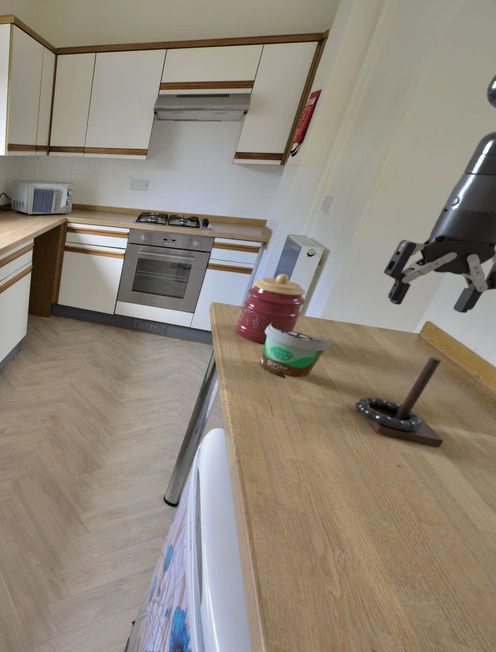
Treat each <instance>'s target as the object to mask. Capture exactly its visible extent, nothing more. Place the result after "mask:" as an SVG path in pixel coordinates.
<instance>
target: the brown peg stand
mask: <svg viewBox="0 0 496 652" xmlns="http://www.w3.org/2000/svg"><path fill="white" fill-rule="evenodd" d="M441 362H442V359H441V358H439V357H435V356H430V357H429V359H428V361H427V362H426V364H425V365H424V367H423V369H422V371H421V372H420V374H419V376H418V377H417V378H416V381H414V382H415V383H414V384H413V385H412V387H411V389H410V391H409V392H408V394H407V396H406V397H405V399H404V401H403V402H402V404H401V405H402V406H401V408H400V409H399V411H398V413H394V412H391V411H389V410H386V409H383V408H378V407H370V408H372V409H373V410H375V411H377V412H378V413H381V414H383V415H386V416H388V417H391V418H395V419H399V420H406V418H407V416H408V415H409V413H410V412H411V410H412V411H413V408H414V407H415V405H416V403H417V402H418V400H419V399H420V397H421V395H422V394H423V391H424V390H425V388H426V387H427V385H428V384H429V382H430V380H431V378H432V377H433V376H434V374H435V372H436V370H437V369H438V367H439V366H440V364H441ZM415 413H416V414H417V415H418V416H419V417H420V418H421V419H422V421H423V424H422V426H421V427H420V429H418V430H411V431H403V430H398V429H394V428H389V427H386V426H384V425H381V424H379V423H376V422H374V421H372V420H370V419H369V418H367V417H365V416H364V415H362V416H363V417H364V419H365V420H366V421H367V424H369V426H370V427H371V428H372V430H373V431H374V430H375V431H374V433H376V434H377V433H380V434H379V435H382V434H384V435H383V436H386V435H389V436H388V437H391V436H393V437H392V438H395V437H396V439H400V440H404V439H405V441H408V440H409V441H408V442H413V441H414V443H417V442H418V444H423V445H427V446H431V447H435V448H440V447H441V445H442V444H443V442H444V440H443V439H442V437H440V435H439V434H437V432H436V431H435V430H434V429H433V428H432V427H431V426H430V425H429V424H428V423H427V422H426V421H425V420H424V419H423V418H422V416H421V415H419V414H418V413H417V412H415Z"/></svg>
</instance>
